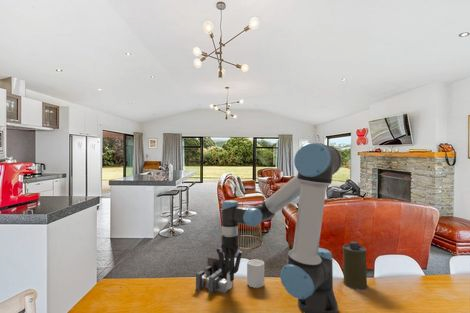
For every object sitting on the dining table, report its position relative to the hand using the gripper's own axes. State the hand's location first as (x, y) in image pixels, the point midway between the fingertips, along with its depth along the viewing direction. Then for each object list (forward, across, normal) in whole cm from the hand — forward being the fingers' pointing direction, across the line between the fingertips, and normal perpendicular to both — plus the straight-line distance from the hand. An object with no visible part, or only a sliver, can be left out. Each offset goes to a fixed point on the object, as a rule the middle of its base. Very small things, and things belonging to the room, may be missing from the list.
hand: (229, 287), depth 109 cm
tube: (+2, +8, 0) cm, 8 cm away
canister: (+2, -52, -33) cm, 61 cm away
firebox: (+2, +10, -1) cm, 10 cm away
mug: (+2, -8, -13) cm, 15 cm away
